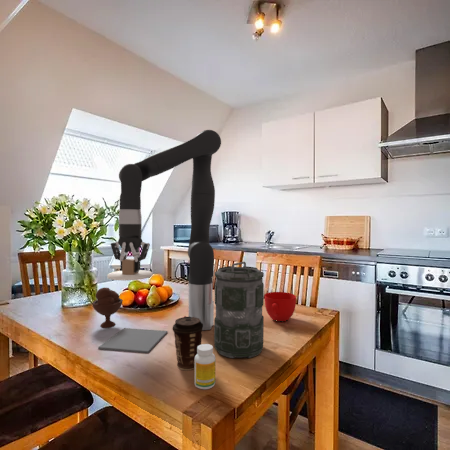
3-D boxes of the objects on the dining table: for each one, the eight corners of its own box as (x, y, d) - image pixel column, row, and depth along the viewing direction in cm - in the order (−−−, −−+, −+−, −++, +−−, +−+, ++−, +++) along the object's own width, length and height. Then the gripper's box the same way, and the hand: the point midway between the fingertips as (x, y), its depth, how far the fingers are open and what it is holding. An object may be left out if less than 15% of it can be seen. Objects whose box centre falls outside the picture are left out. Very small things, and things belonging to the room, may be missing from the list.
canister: (231, 335, 109) (232, 257, 108) (271, 346, 100) (272, 261, 99) (204, 351, 96) (204, 263, 95) (247, 365, 87) (247, 268, 86)
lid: (158, 272, 112) (158, 257, 112) (141, 281, 97) (141, 263, 97) (120, 271, 114) (120, 256, 114) (98, 279, 99) (98, 261, 99)
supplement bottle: (191, 381, 78) (191, 344, 78) (210, 376, 81) (210, 341, 80) (199, 392, 74) (199, 353, 73) (218, 386, 76) (219, 349, 76)
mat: (167, 332, 111) (167, 330, 111) (148, 353, 94) (148, 351, 94) (124, 329, 114) (124, 327, 114) (98, 348, 97) (98, 347, 97)
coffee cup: (189, 355, 93) (189, 313, 93) (209, 363, 88) (209, 319, 88) (167, 365, 86) (167, 320, 86) (187, 375, 81) (187, 327, 81)
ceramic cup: (256, 325, 119) (257, 299, 119) (269, 312, 135) (269, 290, 134) (289, 330, 114) (289, 304, 114) (298, 317, 129) (299, 293, 129)
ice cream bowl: (113, 331, 112) (112, 291, 112) (86, 329, 114) (86, 289, 114) (127, 321, 123) (127, 284, 122) (103, 319, 125) (102, 283, 124)
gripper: (154, 222, 108) (153, 270, 108) (116, 222, 110) (116, 269, 110) (145, 223, 100) (145, 274, 101) (105, 222, 102) (105, 273, 103)
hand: (130, 271), depth 106 cm, fingers closed on lid, 4 cm apart
